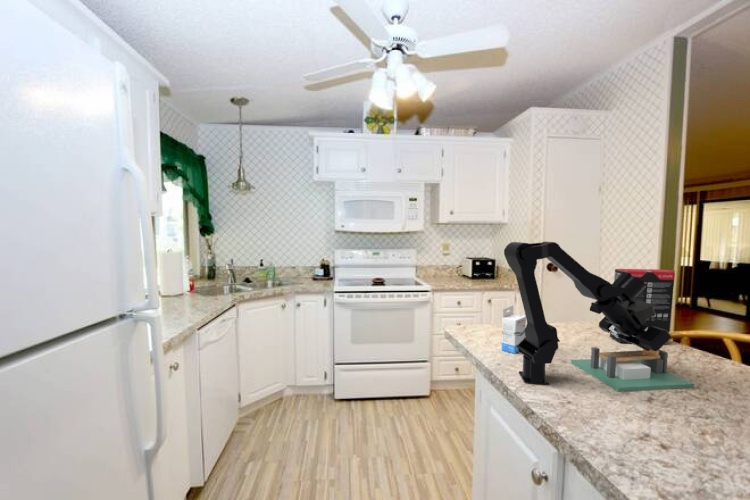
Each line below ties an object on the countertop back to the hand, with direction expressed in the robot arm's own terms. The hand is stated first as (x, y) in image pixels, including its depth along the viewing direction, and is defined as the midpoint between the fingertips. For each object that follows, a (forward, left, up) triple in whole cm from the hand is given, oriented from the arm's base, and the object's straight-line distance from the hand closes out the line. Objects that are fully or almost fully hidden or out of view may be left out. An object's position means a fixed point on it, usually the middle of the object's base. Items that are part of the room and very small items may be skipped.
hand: (648, 349), depth 97 cm
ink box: (+14, +34, -7) cm, 37 cm away
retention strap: (-2, +6, -2) cm, 7 cm away
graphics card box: (+29, -14, -7) cm, 33 cm away
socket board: (-2, +6, -7) cm, 9 cm away
